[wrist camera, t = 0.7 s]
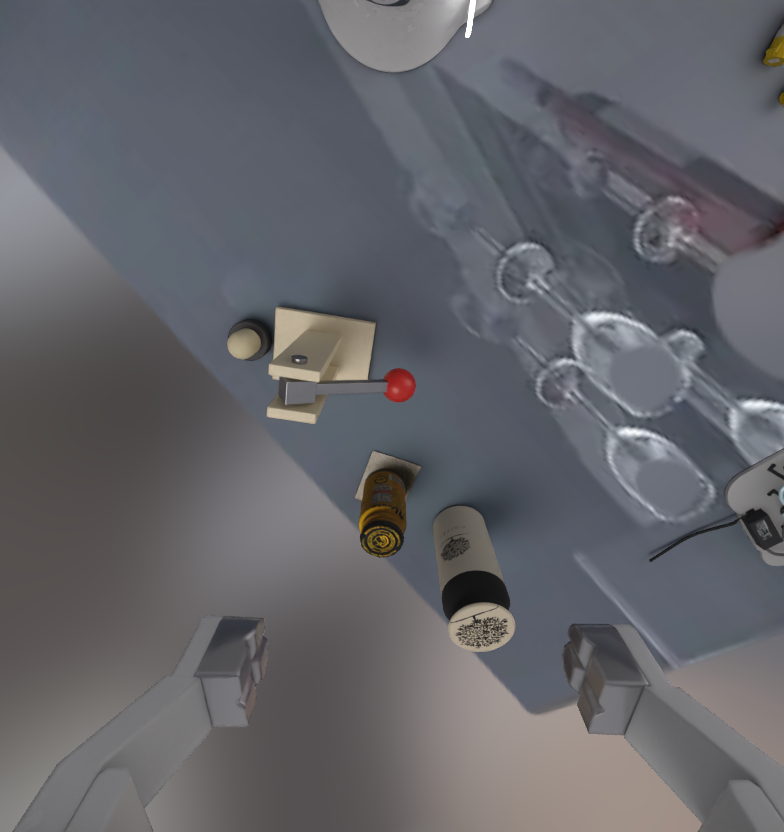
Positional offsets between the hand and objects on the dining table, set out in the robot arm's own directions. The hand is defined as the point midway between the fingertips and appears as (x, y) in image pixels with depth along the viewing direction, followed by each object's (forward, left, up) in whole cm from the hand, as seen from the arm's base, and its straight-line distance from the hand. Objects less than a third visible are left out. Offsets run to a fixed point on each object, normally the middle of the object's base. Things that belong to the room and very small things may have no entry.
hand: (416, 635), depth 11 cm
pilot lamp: (+4, -18, -42) cm, 46 cm away
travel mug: (+28, +14, -42) cm, 52 cm away
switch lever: (+4, -5, -31) cm, 32 cm away
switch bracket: (+4, -9, -42) cm, 43 cm away
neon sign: (+21, +58, -42) cm, 75 cm away
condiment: (+22, +2, -42) cm, 48 cm away
